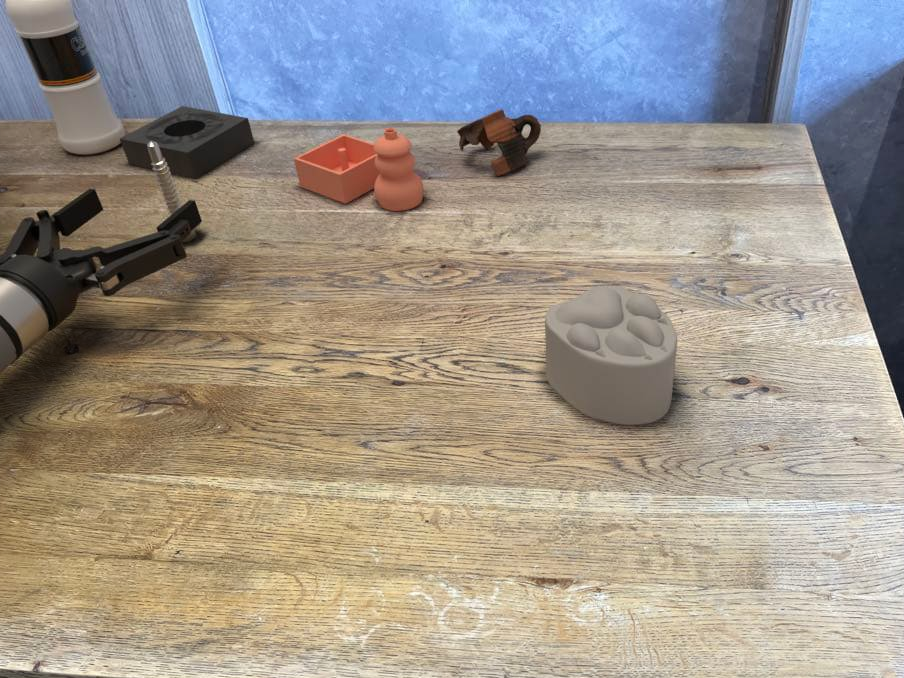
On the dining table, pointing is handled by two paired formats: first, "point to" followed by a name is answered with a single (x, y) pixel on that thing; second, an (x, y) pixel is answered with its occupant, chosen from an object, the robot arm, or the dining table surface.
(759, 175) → the dining table surface
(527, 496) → the dining table surface
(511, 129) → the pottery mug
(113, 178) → the dining table surface
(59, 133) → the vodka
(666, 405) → the lumpy-topped squat cylinder
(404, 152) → the pottery
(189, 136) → the hole plate
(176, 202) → the screw
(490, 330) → the dining table surface
